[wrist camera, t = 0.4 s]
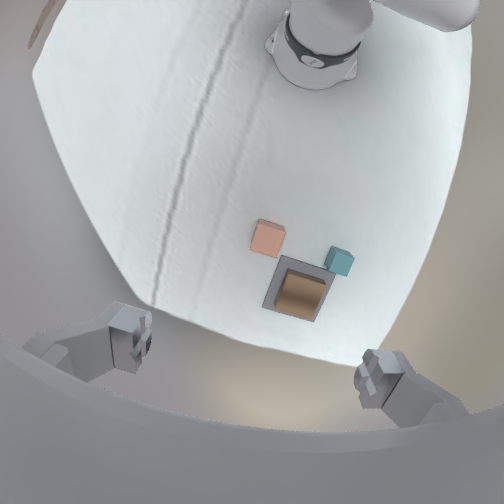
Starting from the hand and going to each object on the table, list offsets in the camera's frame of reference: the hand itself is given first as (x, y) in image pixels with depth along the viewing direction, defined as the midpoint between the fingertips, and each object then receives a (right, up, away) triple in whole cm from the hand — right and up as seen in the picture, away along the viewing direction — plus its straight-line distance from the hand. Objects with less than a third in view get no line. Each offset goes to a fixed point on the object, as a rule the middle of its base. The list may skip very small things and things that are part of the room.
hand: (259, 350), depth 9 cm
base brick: (+9, -5, +47) cm, 48 cm away
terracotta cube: (+3, +7, +44) cm, 45 cm away
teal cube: (+17, +2, +45) cm, 48 cm away
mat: (+9, -4, +47) cm, 48 cm away
